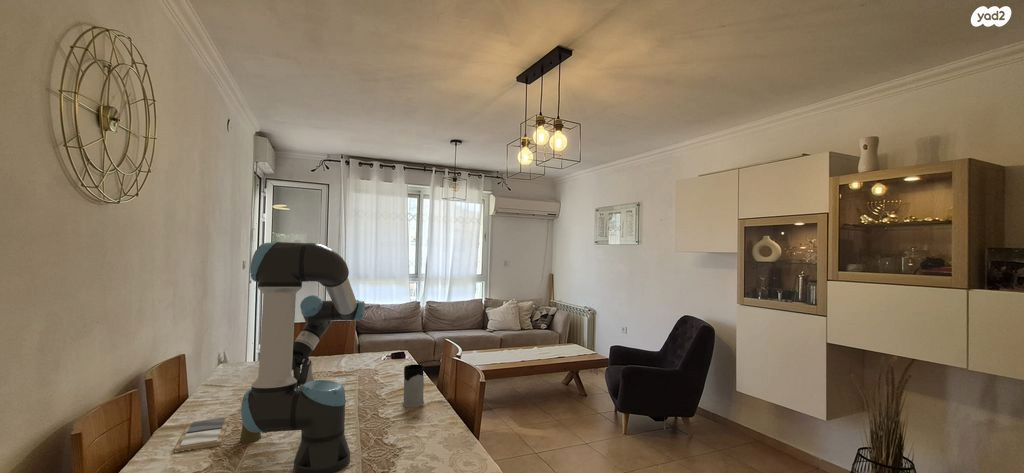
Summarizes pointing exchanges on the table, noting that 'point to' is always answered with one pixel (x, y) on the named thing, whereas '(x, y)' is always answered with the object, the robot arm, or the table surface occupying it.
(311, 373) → the flask
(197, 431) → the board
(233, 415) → the table surface
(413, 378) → the glass holder
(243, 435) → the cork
